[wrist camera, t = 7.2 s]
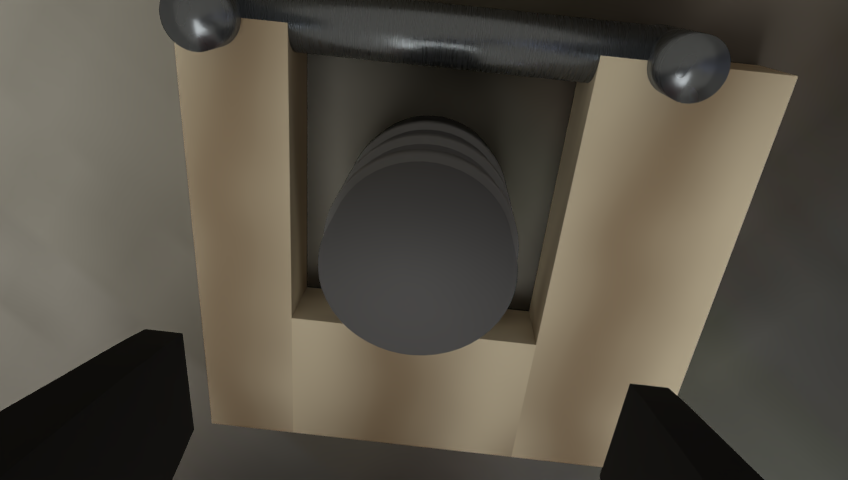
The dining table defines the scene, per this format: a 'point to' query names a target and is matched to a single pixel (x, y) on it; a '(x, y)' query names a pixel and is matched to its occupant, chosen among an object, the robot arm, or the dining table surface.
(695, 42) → the hook rod
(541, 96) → the dining table surface
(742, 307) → the dining table surface
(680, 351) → the wooden picture frame
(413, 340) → the grooved grey cylinder
